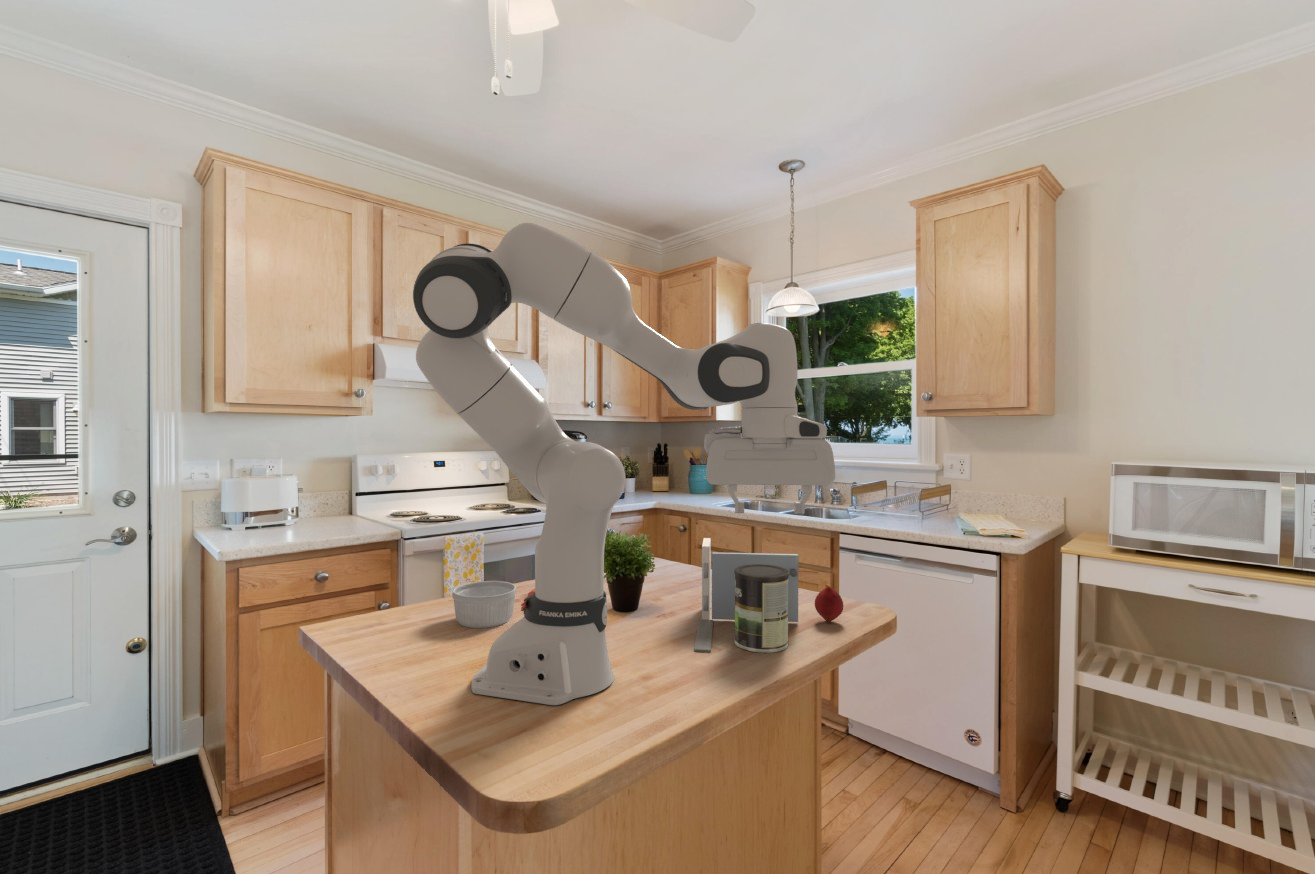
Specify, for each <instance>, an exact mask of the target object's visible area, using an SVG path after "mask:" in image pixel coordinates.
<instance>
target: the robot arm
mask: <svg viewBox="0 0 1315 874" xmlns="http://www.w3.org/2000/svg"><path fill="white" fill-rule="evenodd" d="M413 284H414V285H413V290H412V299H413V305H414V309H415V311H416V314H417V315H418V316H417V317H418V318H419V319H420V320H421V322H422V323H423V324H424V325H425V326H426V327H427V328H428V329H429V330H428V332H426V333H425V334H424V336H422V338H421V340H420V341H419V344H418V346H417V347H416V352H415V362H416V364H417V366H418V368H419V369H420V371H421V373H422V374H423V375H424V378H426V380H427V381H428V383H429V384H430V385H431V386H432V388H433V389H434V390H435V391H436V393H437V394H438V395H439V396H440V398H441V399H443V401H444V402H445V403H446V404H447V405H448V406H449V407H450V409H452V411H454V413H456V415H458V417H459V418H461V419H462V420H463V421H464V422H465V423H466V424H467V425H468V426H469V427H470V428H471V429H472V430H473V431H474V432H475V433H476V434H477V435H478V436H479V437H480V439H482V440H483V441H484V442H486V444H487V445H488V446H489V447H491V448H492V450H493V451H494V452H495V453H496V454H497V455H498V457H499V458H500V459H501V461H502V462H503V463H504V464H505V466H506V467H507V468H508V470H509V471H510V472H511V473H512V474H513V475H514V477H515V478H516V479H517V480H518V481H519V482H520V483H521V485H522V486H523V487H524V488H525V489H526V490H527V491H528V493H530V495H531V496H532V497H533V498H535V499H536V500H537V501H538V502H541V503H543V504H545V505H546V508H545V515H544V520H543V526H542V529H541V534H540V536H539V539H538V540H537V542H536V544H535V547H534V548H535V549H534V588H533V589H531V591H529V592H528V593H527V597H525V598H524V599H523V602H522V603H521V604H520V607H521V608H520V611H521V612H523V615H524V616H523V617H522V618H520V619H519V620H518V621H516V622H515V623H514V624H512V625H511V626H510V627H509V628H508V629H506V630H505V631H504V632H503V633H502V634H500V635H499V636H498V637H497V638H496V639H495V640H494V642H493V643H492V644H491V647H490V650H489V653H488V656H487V661H486V664H485V665H483V666H482V667H481V668H480V669H479V670H478V671H477V672H476V673H475V674H474V676H473V678H472V680H471V687H470V688H471V689H470V690H471V692H472V693H473V694H476V695H480V696H481V695H483V696H487V697H489V696H490V697H493V698H494V697H495V698H502V699H508V700H514V701H515V700H517V701H523V702H529V703H535V704H541V705H549V706H560V705H562V704H565V703H568V702H570V701H573V699H578V698H582V697H586V696H587V697H588V696H590V695H595V694H596V693H600V692H601V691H603V690H605V689H607V688H608V687H609V686H611V685H612V683H613V682H614V679H615V677H614V672H613V670H612V665H611V661H610V656H609V650H608V645H607V637H606V627H607V624H608V602H607V592H606V591H605V590H604V589H605V588H604V587H605V585H604V584H605V583H604V582H605V581H604V580H605V579H604V578H605V576H604V575H605V573H604V571H605V570H604V569H605V564H604V563H605V544H606V537H607V532H608V528H609V524H610V523H609V522H610V520H611V515H612V513H613V509H614V506H615V504H616V503H617V502H618V500H620V498H621V497H622V495H623V493H624V490H625V486H626V479H627V478H626V470H625V468H624V465H623V463H622V461H621V460H620V458H619V457H618V456H617V455H616V454H615V453H613V452H612V451H610V450H609V449H607V448H605V447H604V446H602V445H600V444H598V443H596V442H595V443H594V442H590V441H576V440H574V439H573V438H571V437H569V436H568V435H567V434H566V433H565V432H564V430H563V429H562V428H561V426H560V425H559V424H558V422H557V421H556V419H555V417H554V415H553V414H552V412H551V411H550V408H549V404H548V402H547V400H546V399H545V397H544V396H542V394H541V393H539V391H538V390H537V389H536V388H535V387H534V386H533V385H532V384H531V382H529V381H528V380H527V378H526V377H525V376H524V375H523V374H522V373H521V372H520V371H519V370H518V369H517V368H516V367H515V366H514V365H513V364H512V363H511V362H510V361H509V359H508V358H506V356H505V355H504V354H503V353H502V352H501V351H500V350H499V349H498V347H497V346H496V345H495V344H494V343H493V341H492V339H491V337H490V335H489V334H490V333H489V327H490V326H491V324H492V323H493V322H494V321H496V320H497V319H498V317H500V315H502V314H503V313H504V312H505V311H506V310H507V309H509V307H510V306H511V304H514V303H516V304H517V303H518V304H523V305H526V306H528V307H530V308H533V309H534V310H537V311H539V312H540V313H542V314H543V315H545V316H547V317H548V318H550V319H551V320H552V319H553V320H554V321H555V322H557V323H558V324H560V325H562V326H564V327H566V328H568V329H570V330H572V331H573V332H575V333H578V334H580V335H582V336H585V337H586V338H589V339H591V340H594V341H595V342H597V343H599V344H601V345H603V346H606V347H607V348H609V349H611V350H612V351H613V352H614V351H615V353H617V354H619V355H620V356H622V357H623V358H624V359H626V360H627V361H629V362H630V363H633V364H634V365H636V366H637V367H639V368H640V369H642V370H643V371H645V372H646V373H648V374H649V375H650V376H652V377H654V379H656V380H657V381H658V382H660V383H661V385H662V386H663V388H665V390H666V392H667V393H668V394H669V396H670V397H671V399H673V401H675V403H677V404H678V405H679V406H680V407H683V408H684V409H688V410H692V411H699V410H704V409H707V408H711V407H722V406H726V405H727V406H728V405H732V404H735V403H738V402H739V403H740V405H741V408H740V409H741V410H740V411H741V421H740V422H741V425H740V426H727V427H721V426H715V427H713V429H710V430H708V431H707V432H706V433H705V435H704V437H703V446H704V447H703V448H704V451H705V453H706V454H707V455H708V456H707V460H706V461H707V462H706V469H705V470H706V471H705V472H706V473H705V479H706V481H707V482H708V483H709V484H710V485H721V486H722V485H723V486H725V485H726V486H727V485H728V486H727V492H728V494H729V495H730V498H731V499H732V501H733V503H734V513H735V514H745V501H744V500H739V498H738V497H737V495H736V493H735V492H738V486H742V485H743V486H746V485H748V486H751V485H752V486H801V491H802V493H803V494H802V496H801V498H800V499H799V501H794V502H793V504H794V508H793V513H794V514H795V515H805V509H806V506H805V504H806V502H807V501H808V500H809V498H810V496H811V495H812V493H813V486H831V485H832V484H833V483H834V482H835V480H836V467H835V466H836V465H835V458H834V452H833V447H832V446H831V444H830V443H829V442H828V441H827V440H826V439H825V438H826V436H827V433H828V429H827V426H826V425H825V424H823V423H820V422H817V421H813V420H811V419H810V418H806V417H801V416H799V414H798V403H797V399H796V387H797V384H798V355H797V347H796V341H795V338H794V335H793V334H792V332H791V330H789V329H787V328H786V327H784V326H783V325H778V324H775V323H771V322H770V323H769V322H767V323H764V322H757V323H755V322H754V323H750V324H748V325H747V326H746V327H745V328H744V329H743V330H741V331H740V332H738V333H735V335H733V336H729V337H728V338H726V339H723V340H721V341H717V342H714V343H712V344H708V345H706V346H703V347H700V348H698V349H697V348H696V349H693V348H691V349H690V348H684V347H680V346H678V345H676V344H675V343H673V342H672V341H671V340H669V339H667V338H666V337H664V336H663V335H662V334H660V333H659V332H658V331H656V330H655V329H653V328H652V327H650V326H649V325H648V324H646V323H644V322H643V321H642V320H641V319H640V318H639V316H638V315H637V314H636V312H635V310H634V306H633V301H632V300H633V299H632V298H633V297H632V291H631V288H630V284H629V282H628V280H627V278H626V277H625V276H624V275H623V274H622V273H621V272H620V271H619V270H617V269H616V267H614V266H613V265H612V264H610V263H609V261H607V260H605V259H604V258H602V257H601V256H599V255H598V254H596V253H595V252H593V251H591V250H590V249H588V248H586V247H585V246H583V245H581V244H580V243H578V242H576V241H574V240H572V239H571V238H569V237H566V236H564V235H563V234H561V233H558V232H556V231H553V230H551V229H549V228H547V227H544V226H542V225H539V224H537V223H532V222H523V223H520V224H518V225H515V226H514V227H512V228H511V229H510V230H508V232H507V233H506V234H505V235H504V236H503V237H502V239H501V241H500V242H499V244H498V246H497V247H496V248H495V249H494V250H493V251H492V250H490V249H489V248H487V247H485V246H483V245H480V244H476V243H461V244H456V245H454V246H452V247H449V248H446V249H445V250H442V251H439V253H438V254H436V255H435V256H434V257H433V258H432V259H431V260H430V261H429V262H427V264H425V266H423V267H422V269H421V270H420V271H419V273H418V275H417V276H416V279H415V281H414V283H413Z"/></svg>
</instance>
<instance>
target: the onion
mask: <svg viewBox="0 0 1315 874" xmlns="http://www.w3.org/2000/svg"><path fill="white" fill-rule="evenodd" d="M814 607H815V610H816V612H817V613H818V615H819V616H821V617H822V618H823V619H824V621H825V622H827V623H831V622H833V621H834V620H836V619H837V618H838V617H839V616H841V614H842V613H843V612H844V611H843V610H844V601H843V598H842V597H841V595H840V594H839V592H838V591H837V590H835V589H834V587H832V586H831V585H830V584H829V583H827V584H826V583H825V588H824V589H822V590H820V591H819V593H817V595H816V596H815V599H814Z"/></svg>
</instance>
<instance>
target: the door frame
mask: <svg viewBox="0 0 1315 874" xmlns="http://www.w3.org/2000/svg"><path fill="white" fill-rule="evenodd" d="M711 541H712V538H711V537H703V540H702V545H701V619H700V618H699V619H698V621H697V629H696V635H695V643H694V652H699V653H700V652H701V653H704V652H705V653H711V652H712V642H713V641H712V639H713V621H714V619H710V618H711V610H712V552H711V551H712V549H711V548H712V546H711V545H712V543H711Z"/></svg>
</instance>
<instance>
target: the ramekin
mask: <svg viewBox="0 0 1315 874" xmlns="http://www.w3.org/2000/svg"><path fill="white" fill-rule="evenodd" d="M451 595H452V599H453V605H454V606H453V607H454V614H455V619H456V621H457V622H458V624H459V625H460V626H462V627H466V628H472V629H484V628H493V627H497V626H501V625H504V624H506V623H508V622H509V621H510V619H511V618H512V616H513V614H514V608H515V607H514V606H515V601H516V595H517V586H516V585H515V584H514V583H512V582H508V581H502V580H485V581H484V580H483V581H474V582H473V581H472V582H467V583H463V584H461V585H458V586H455V588H454V589H453V590H452V594H451Z"/></svg>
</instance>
